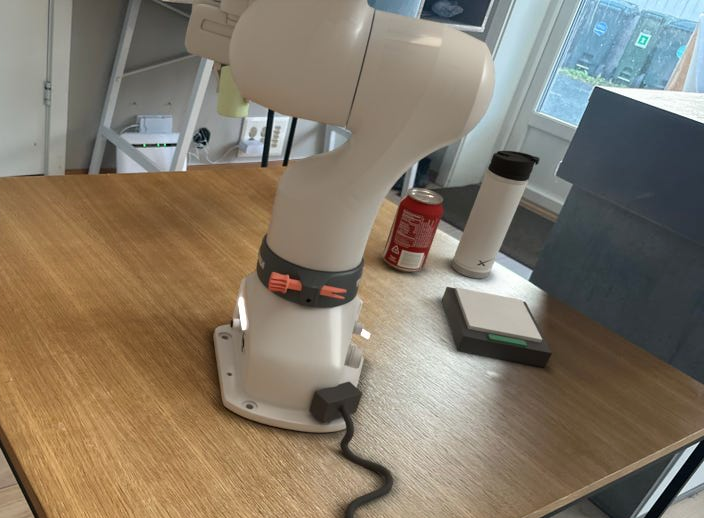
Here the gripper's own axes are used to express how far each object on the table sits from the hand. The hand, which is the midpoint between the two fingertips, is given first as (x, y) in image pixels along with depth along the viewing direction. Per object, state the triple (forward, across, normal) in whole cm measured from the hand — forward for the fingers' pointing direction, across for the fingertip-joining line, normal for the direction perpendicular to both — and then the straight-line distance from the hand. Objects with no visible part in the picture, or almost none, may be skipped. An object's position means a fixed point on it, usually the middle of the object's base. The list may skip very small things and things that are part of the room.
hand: (235, 97), depth 112 cm
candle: (+3, 0, 0) cm, 3 cm away
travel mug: (+19, +41, +16) cm, 48 cm away
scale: (+19, +50, -2) cm, 53 cm away
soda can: (+19, +32, +7) cm, 38 cm away
